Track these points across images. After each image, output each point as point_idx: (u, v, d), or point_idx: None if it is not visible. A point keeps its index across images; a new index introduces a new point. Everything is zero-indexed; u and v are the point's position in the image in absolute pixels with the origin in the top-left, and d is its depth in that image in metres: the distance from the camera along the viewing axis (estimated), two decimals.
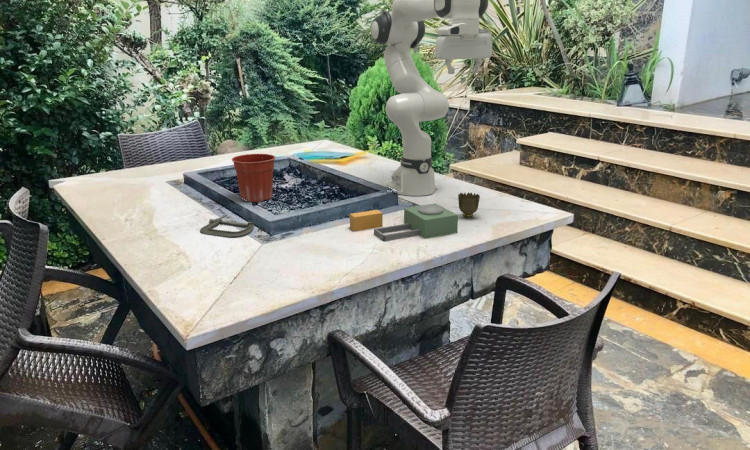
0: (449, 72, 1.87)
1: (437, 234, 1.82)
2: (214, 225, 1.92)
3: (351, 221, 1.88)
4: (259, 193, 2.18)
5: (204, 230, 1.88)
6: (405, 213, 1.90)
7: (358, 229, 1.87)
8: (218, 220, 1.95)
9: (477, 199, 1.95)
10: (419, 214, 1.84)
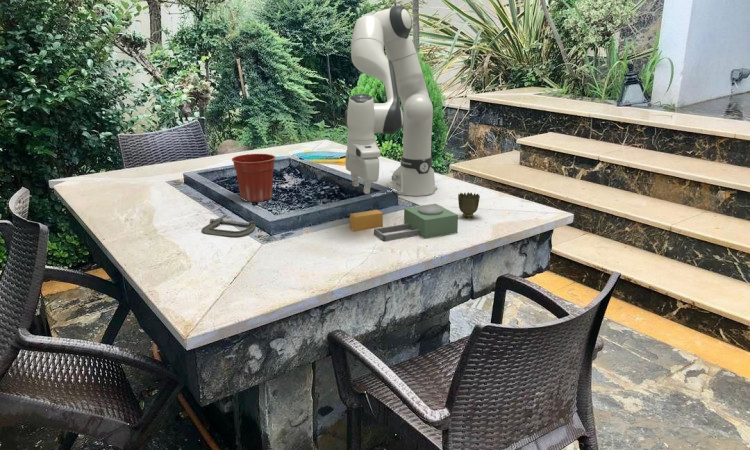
0: (367, 192, 1.82)
1: (437, 234, 1.82)
2: (215, 225, 1.92)
3: (352, 220, 1.88)
4: (259, 193, 2.18)
5: (205, 230, 1.88)
6: (405, 213, 1.90)
7: (358, 229, 1.87)
8: (219, 220, 1.95)
9: (477, 199, 1.95)
10: (419, 214, 1.84)
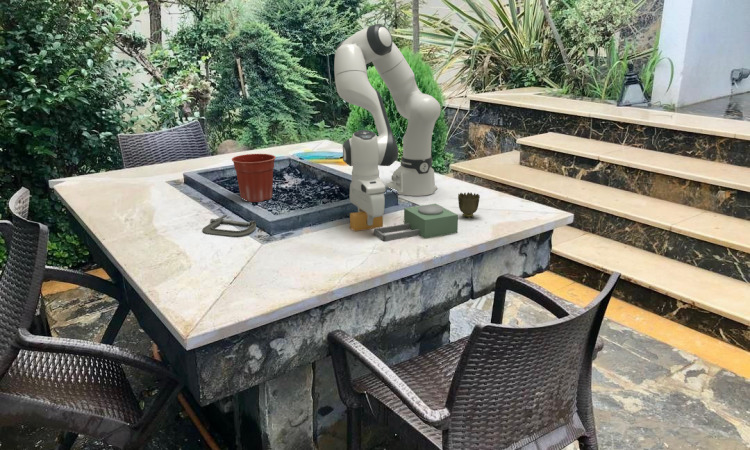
0: (370, 224, 1.87)
1: (437, 234, 1.82)
2: (216, 225, 1.92)
3: (352, 220, 1.88)
4: (259, 193, 2.18)
5: (206, 230, 1.88)
6: (405, 213, 1.90)
7: (358, 228, 1.87)
8: (219, 220, 1.95)
9: (477, 199, 1.95)
10: (419, 214, 1.84)
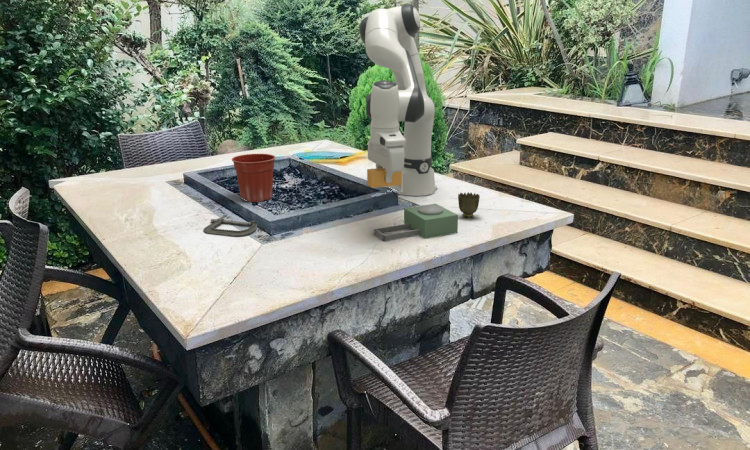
0: (389, 181, 1.77)
1: (437, 234, 1.82)
2: (217, 225, 1.92)
3: (369, 176, 1.78)
4: (259, 193, 2.18)
5: (207, 230, 1.88)
6: (405, 213, 1.90)
7: (376, 185, 1.77)
8: (220, 220, 1.95)
9: (477, 199, 1.95)
10: (419, 214, 1.84)
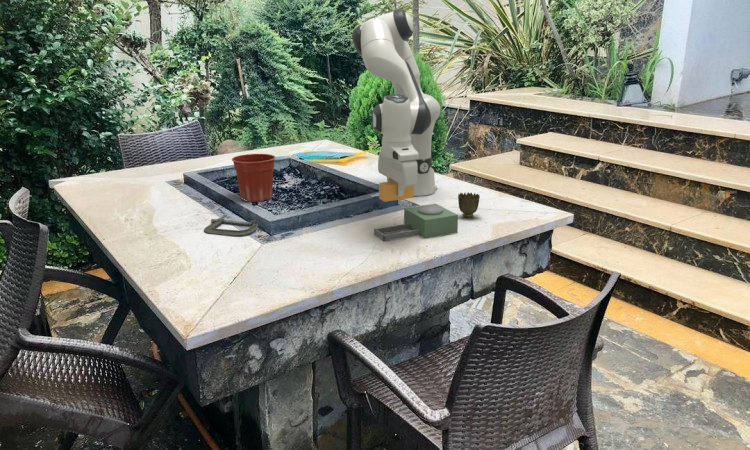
0: (401, 194, 1.76)
1: (437, 234, 1.82)
2: (217, 225, 1.92)
3: (381, 190, 1.77)
4: (259, 193, 2.18)
5: (208, 230, 1.88)
6: (405, 213, 1.90)
7: (388, 199, 1.76)
8: (220, 220, 1.95)
9: (477, 199, 1.95)
10: (419, 214, 1.84)
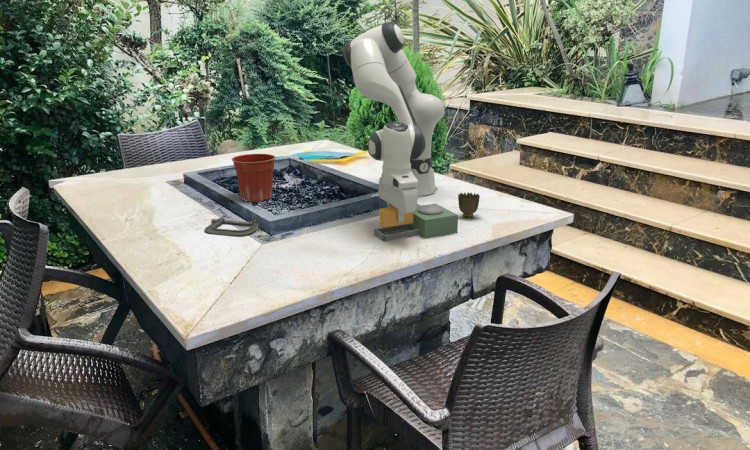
0: (401, 220, 1.79)
1: (437, 234, 1.82)
2: (218, 225, 1.92)
3: (381, 216, 1.80)
4: (259, 193, 2.18)
5: (209, 230, 1.88)
6: None
7: (388, 225, 1.79)
8: (221, 220, 1.95)
9: (477, 199, 1.95)
10: (419, 214, 1.84)
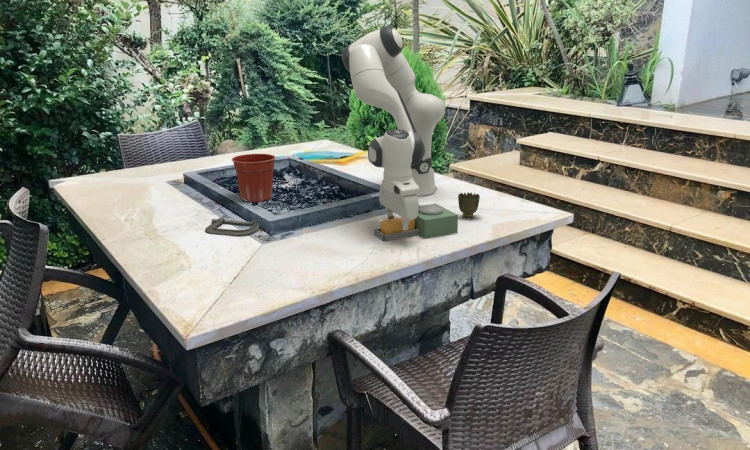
0: (405, 228, 1.78)
1: (437, 234, 1.82)
2: (218, 225, 1.92)
3: (383, 228, 1.81)
4: (259, 193, 2.18)
5: (209, 230, 1.88)
6: None
7: None
8: (221, 220, 1.95)
9: (477, 199, 1.95)
10: (419, 214, 1.84)
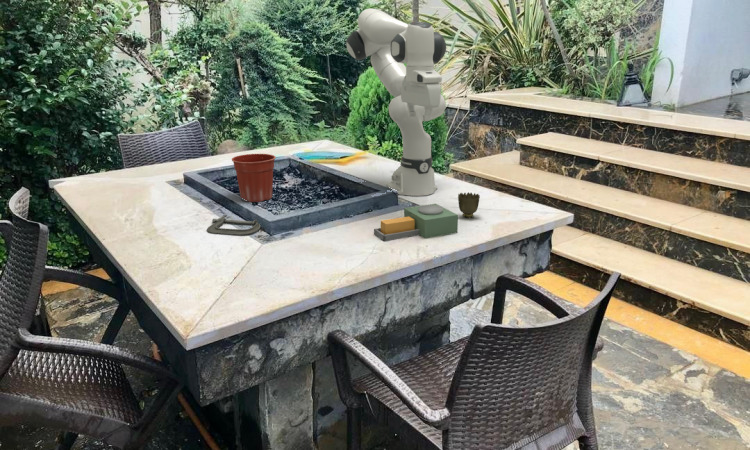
0: (427, 119, 1.84)
1: (437, 234, 1.82)
2: (219, 224, 1.92)
3: (382, 228, 1.81)
4: (259, 193, 2.18)
5: (211, 230, 1.88)
6: (405, 213, 1.90)
7: None
8: (222, 219, 1.95)
9: (477, 199, 1.95)
10: (419, 214, 1.84)
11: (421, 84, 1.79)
